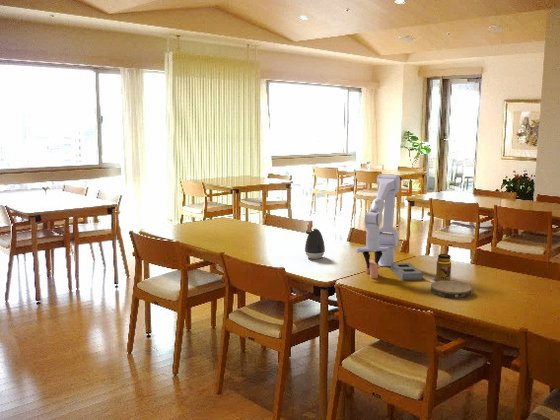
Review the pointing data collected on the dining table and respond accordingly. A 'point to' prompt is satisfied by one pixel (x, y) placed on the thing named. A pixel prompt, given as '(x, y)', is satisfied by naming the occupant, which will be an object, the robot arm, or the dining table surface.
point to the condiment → (443, 268)
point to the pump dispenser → (314, 244)
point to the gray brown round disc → (451, 289)
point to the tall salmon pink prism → (372, 269)
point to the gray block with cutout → (406, 271)
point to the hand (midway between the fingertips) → (371, 267)
